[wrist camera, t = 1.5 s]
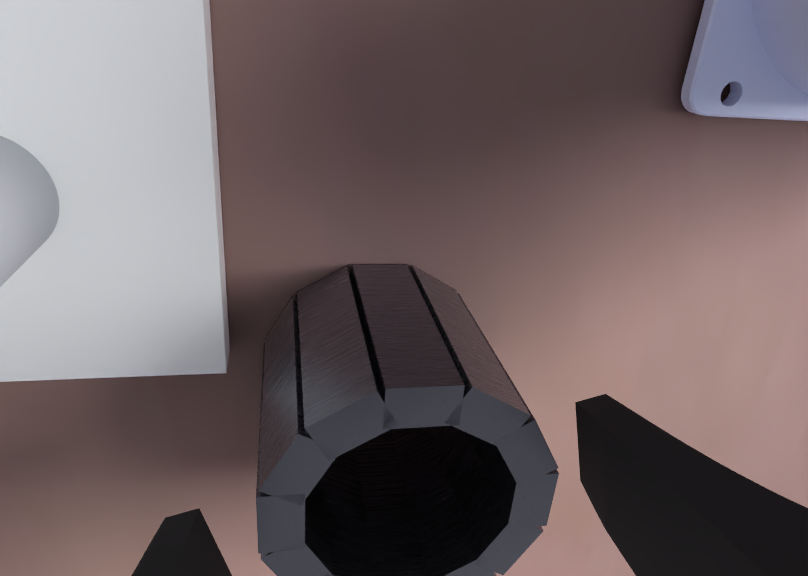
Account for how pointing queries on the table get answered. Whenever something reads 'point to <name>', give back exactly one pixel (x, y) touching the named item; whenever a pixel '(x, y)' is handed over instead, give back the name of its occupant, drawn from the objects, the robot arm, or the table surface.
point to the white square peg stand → (109, 191)
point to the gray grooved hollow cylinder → (393, 436)
